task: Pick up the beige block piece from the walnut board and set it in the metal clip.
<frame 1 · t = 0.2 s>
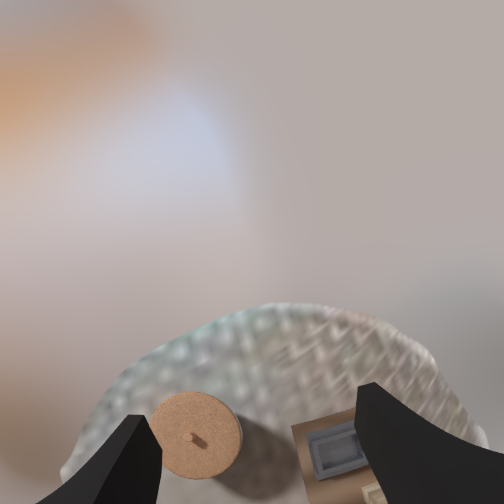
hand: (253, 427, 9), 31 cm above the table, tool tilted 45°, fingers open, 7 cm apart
walnut board: (356, 469, 30), on the table
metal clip: (335, 449, 32), resting on walnut board
lidded jar: (208, 433, 35), on the table
beige block piece: (376, 489, 27), point 1 cm above the table, touching walnut board
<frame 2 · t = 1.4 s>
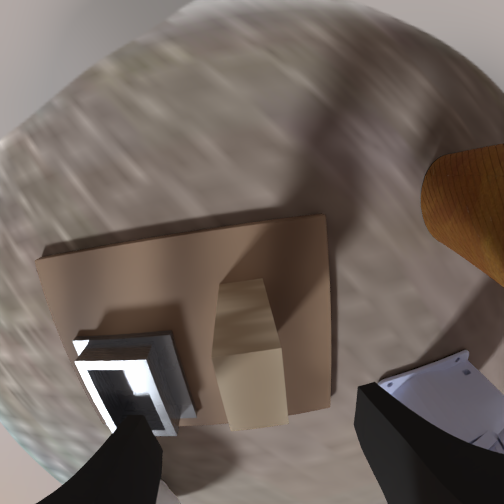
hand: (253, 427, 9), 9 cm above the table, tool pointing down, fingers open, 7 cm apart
walnut board: (187, 343, 18), on the table
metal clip: (139, 371, 19), resting on walnut board
lidded jar: (141, 481, 23), on the table
disposable coffee cup: (452, 199, 17), on the table
beige block piece: (245, 313, 17), point 1 cm above the table, touching walnut board
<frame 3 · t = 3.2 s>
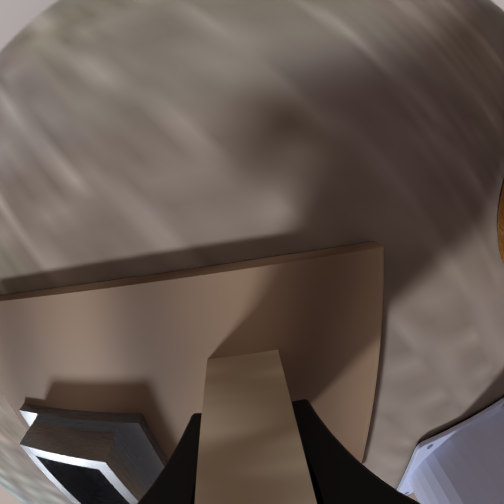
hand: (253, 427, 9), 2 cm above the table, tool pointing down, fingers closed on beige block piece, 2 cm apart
walnut board: (167, 423, 11), on the table
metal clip: (109, 446, 12), resting on walnut board
beige block piece: (250, 396, 10), point 1 cm above the table, touching gripper, walnut board
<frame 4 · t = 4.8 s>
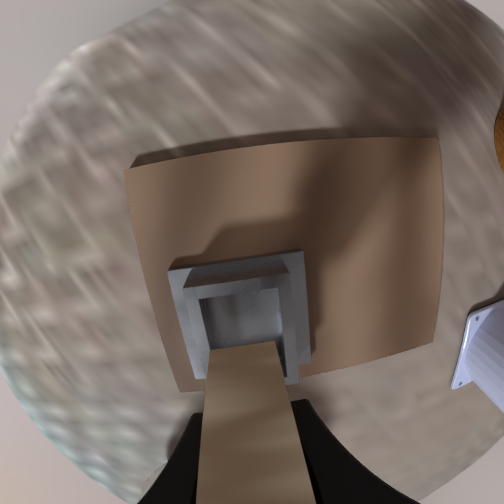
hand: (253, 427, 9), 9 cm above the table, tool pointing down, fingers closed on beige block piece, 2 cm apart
walnut board: (308, 268, 17), on the table
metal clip: (243, 311, 17), resting on walnut board
beige block piece: (249, 386, 11), point 6 cm above the table, touching gripper
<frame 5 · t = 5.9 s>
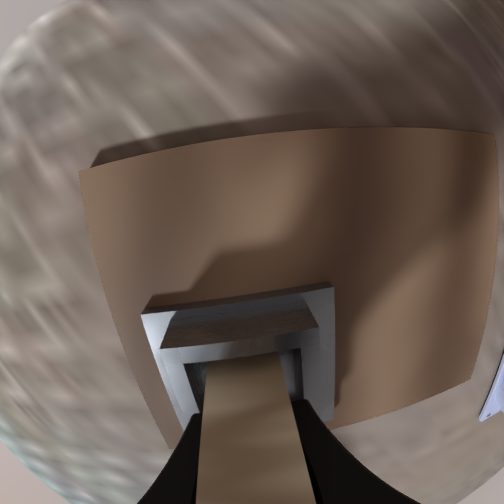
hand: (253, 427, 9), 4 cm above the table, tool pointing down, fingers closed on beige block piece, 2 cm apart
walnut board: (336, 305, 12), on the table
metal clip: (247, 360, 13), resting on walnut board
beige block piece: (249, 382, 11), point 1 cm above the table, touching gripper, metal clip
when the fingers open (4 cm above the table, at t = 6.3 s): beige block piece stays where it is, resting on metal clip.
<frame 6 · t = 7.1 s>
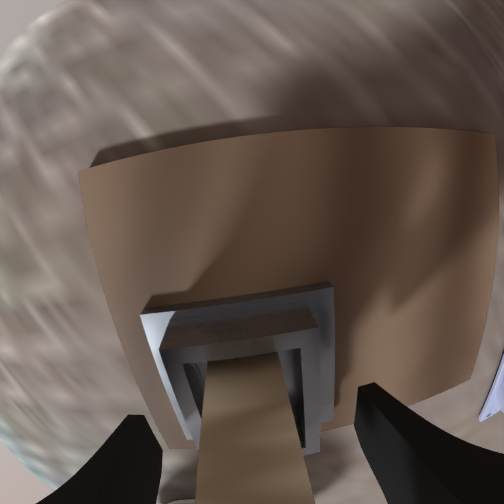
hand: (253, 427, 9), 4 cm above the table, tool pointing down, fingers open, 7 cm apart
walnut board: (335, 305, 12), on the table
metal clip: (247, 360, 13), resting on walnut board
beige block piece: (249, 382, 11), point 1 cm above the table, touching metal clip
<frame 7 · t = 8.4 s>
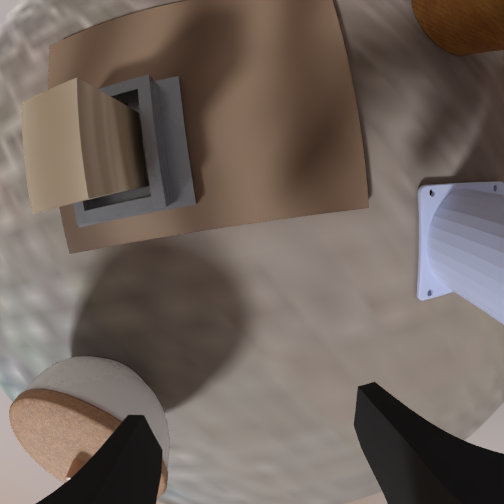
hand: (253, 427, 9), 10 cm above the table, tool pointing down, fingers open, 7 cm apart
walnut board: (194, 105, 15), on the table
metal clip: (130, 153, 15), resting on walnut board
lidded jar: (114, 387, 20), on the table
disposable coffee cup: (442, 22, 14), on the table
beige block piece: (122, 153, 14), point 1 cm above the table, touching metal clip
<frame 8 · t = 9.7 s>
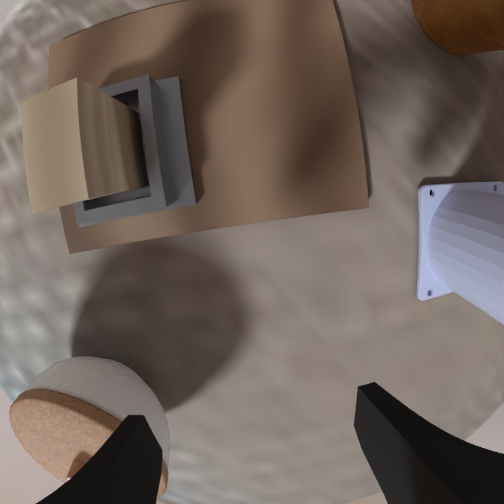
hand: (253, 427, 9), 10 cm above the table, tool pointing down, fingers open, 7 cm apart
walnut board: (194, 105, 15), on the table
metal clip: (130, 153, 15), resting on walnut board
lidded jar: (114, 387, 20), on the table
disposable coffee cup: (442, 22, 14), on the table
beige block piece: (122, 153, 14), point 1 cm above the table, touching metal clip
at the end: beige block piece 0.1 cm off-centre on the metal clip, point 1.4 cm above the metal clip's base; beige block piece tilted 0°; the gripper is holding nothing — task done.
